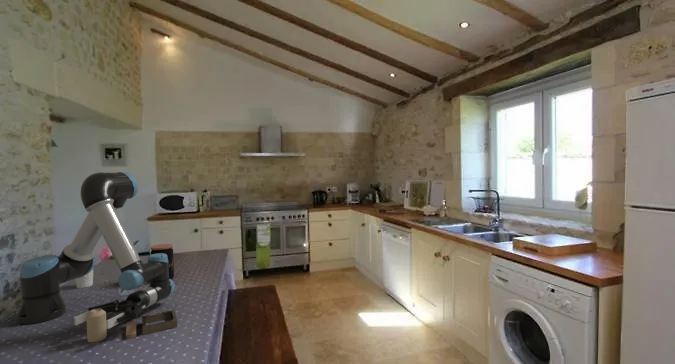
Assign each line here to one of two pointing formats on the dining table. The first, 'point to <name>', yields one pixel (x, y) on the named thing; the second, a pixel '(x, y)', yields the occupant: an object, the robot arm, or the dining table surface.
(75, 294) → the dining table surface
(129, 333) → the strip
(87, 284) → the white cup
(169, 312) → the wooden tray
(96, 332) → the candle
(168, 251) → the coffee jar
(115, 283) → the dining table surface
